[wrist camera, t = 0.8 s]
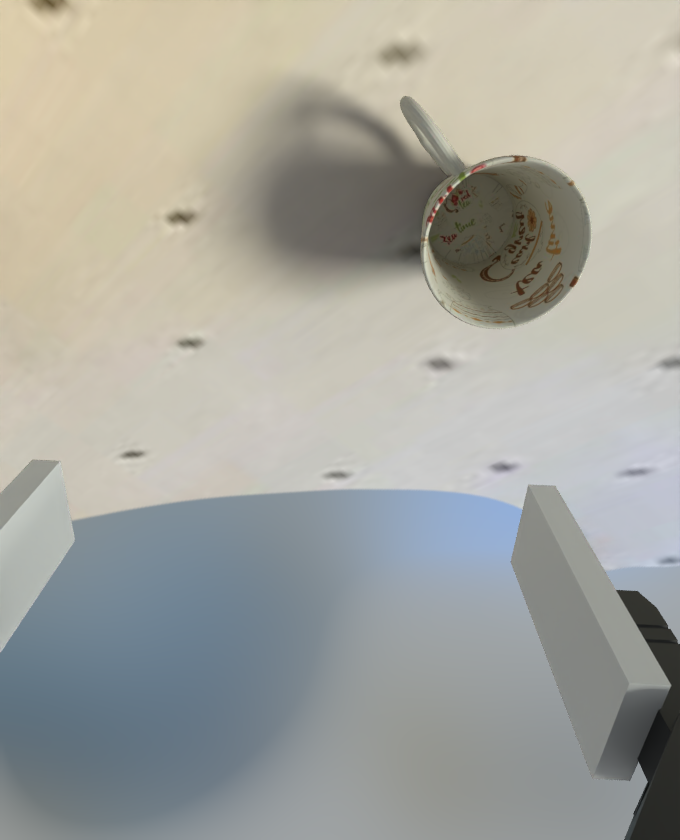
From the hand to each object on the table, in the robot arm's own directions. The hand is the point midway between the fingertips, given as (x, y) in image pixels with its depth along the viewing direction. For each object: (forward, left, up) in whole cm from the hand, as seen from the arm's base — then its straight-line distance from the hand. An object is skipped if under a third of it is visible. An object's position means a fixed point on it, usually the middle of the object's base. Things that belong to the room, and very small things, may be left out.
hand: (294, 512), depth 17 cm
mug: (-5, +9, -26) cm, 28 cm away
